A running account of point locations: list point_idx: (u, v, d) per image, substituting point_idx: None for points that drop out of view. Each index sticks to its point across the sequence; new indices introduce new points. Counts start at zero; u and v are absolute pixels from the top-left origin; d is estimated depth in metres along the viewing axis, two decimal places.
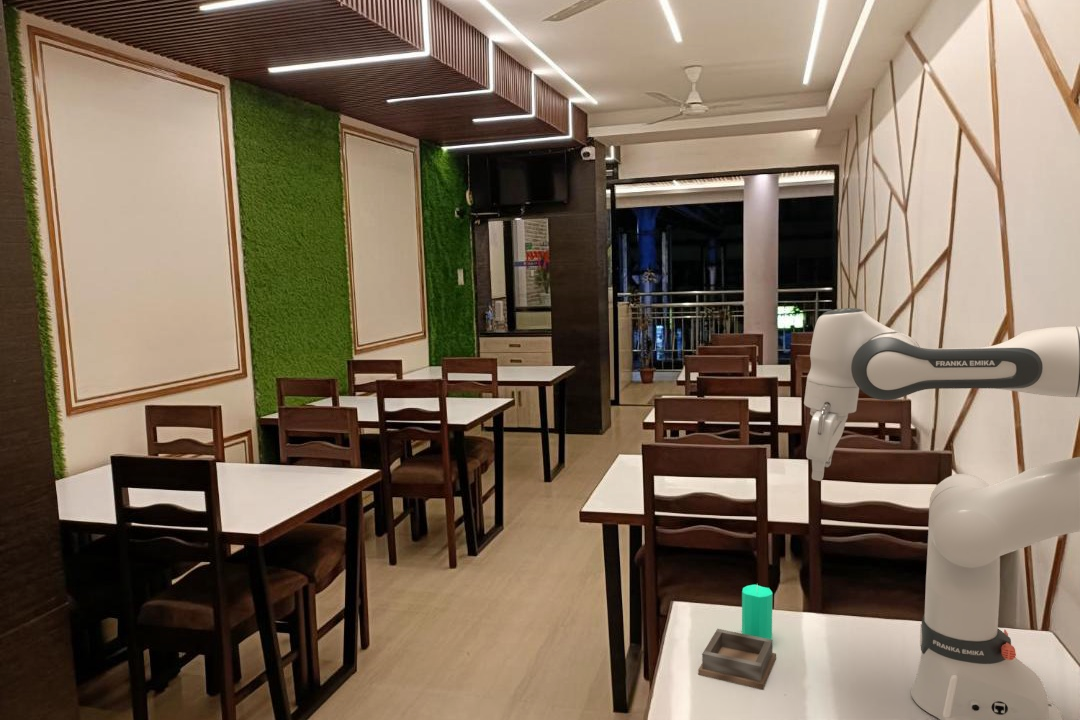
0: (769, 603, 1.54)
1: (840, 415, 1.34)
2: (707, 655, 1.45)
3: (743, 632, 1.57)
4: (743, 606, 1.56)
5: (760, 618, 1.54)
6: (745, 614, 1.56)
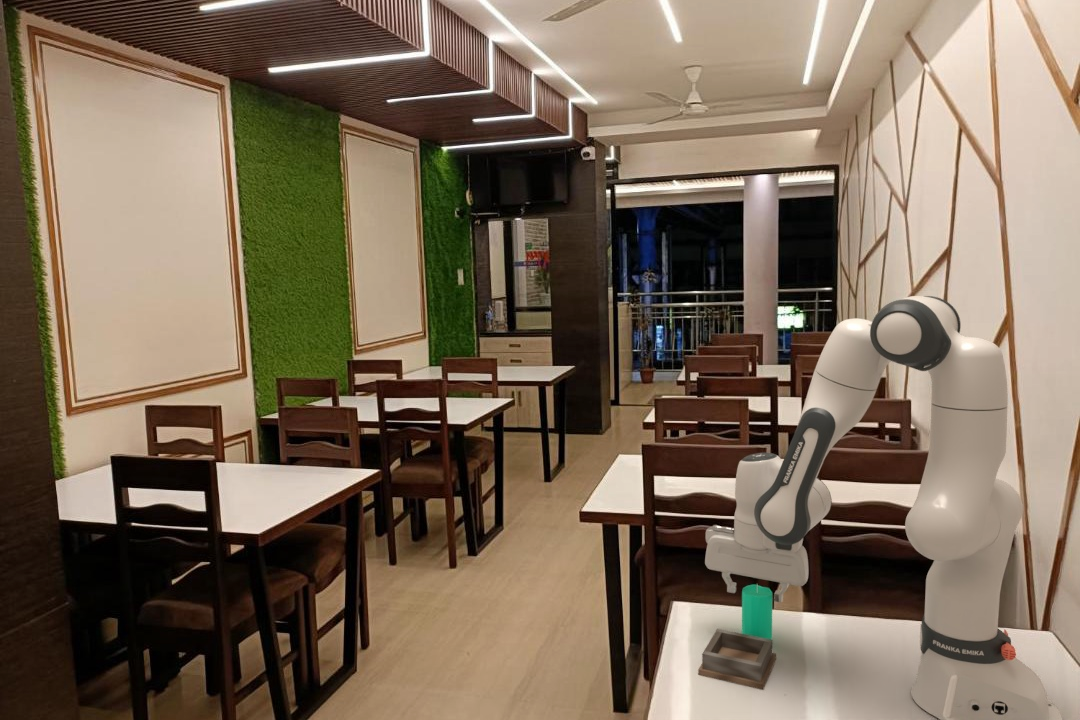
0: (769, 603, 1.54)
1: (742, 544, 1.54)
2: (707, 655, 1.45)
3: (743, 632, 1.57)
4: (743, 606, 1.56)
5: (760, 618, 1.54)
6: (745, 614, 1.56)
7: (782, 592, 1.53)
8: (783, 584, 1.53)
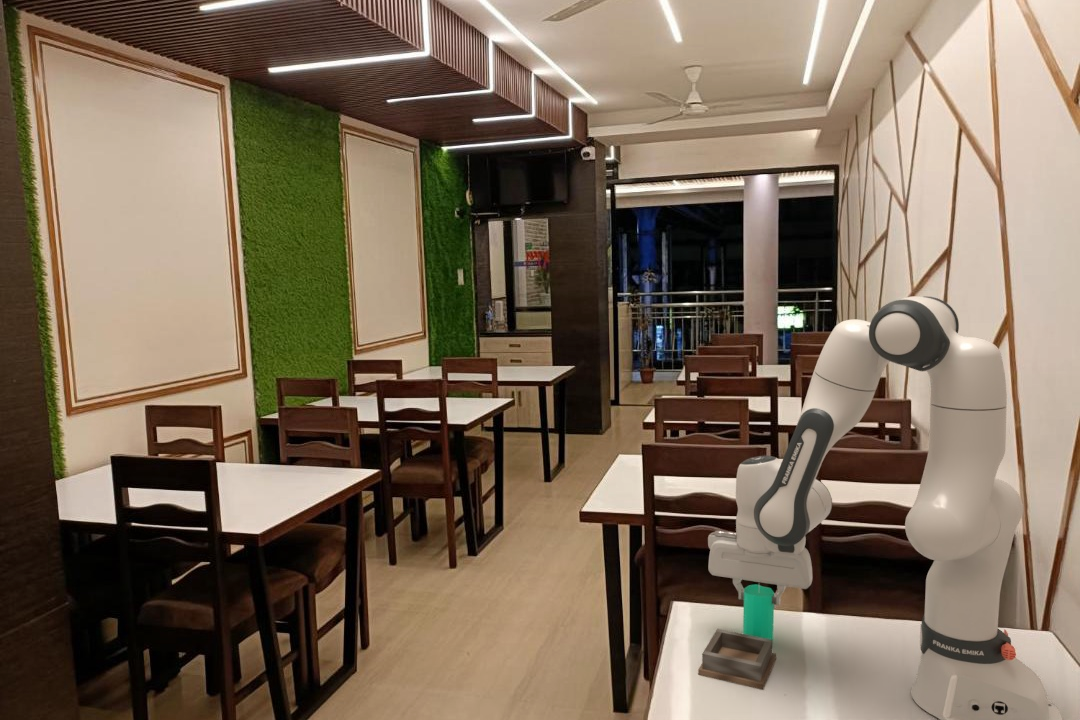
0: (771, 603, 1.54)
1: (745, 548, 1.54)
2: (707, 655, 1.45)
3: (744, 632, 1.57)
4: (745, 606, 1.56)
5: (762, 618, 1.54)
6: (747, 614, 1.55)
7: (779, 594, 1.53)
8: (780, 586, 1.53)
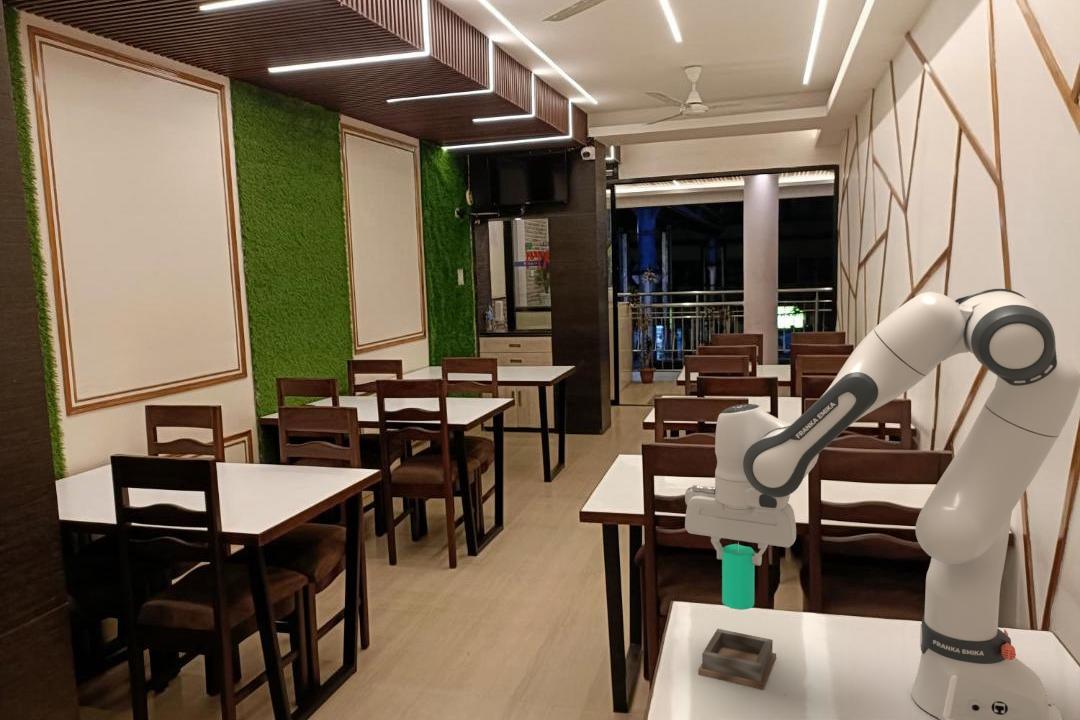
0: (751, 563, 1.43)
1: (724, 504, 1.43)
2: (707, 655, 1.45)
3: (723, 595, 1.46)
4: (723, 567, 1.45)
5: (742, 579, 1.43)
6: (725, 575, 1.44)
7: (760, 554, 1.42)
8: (761, 545, 1.42)
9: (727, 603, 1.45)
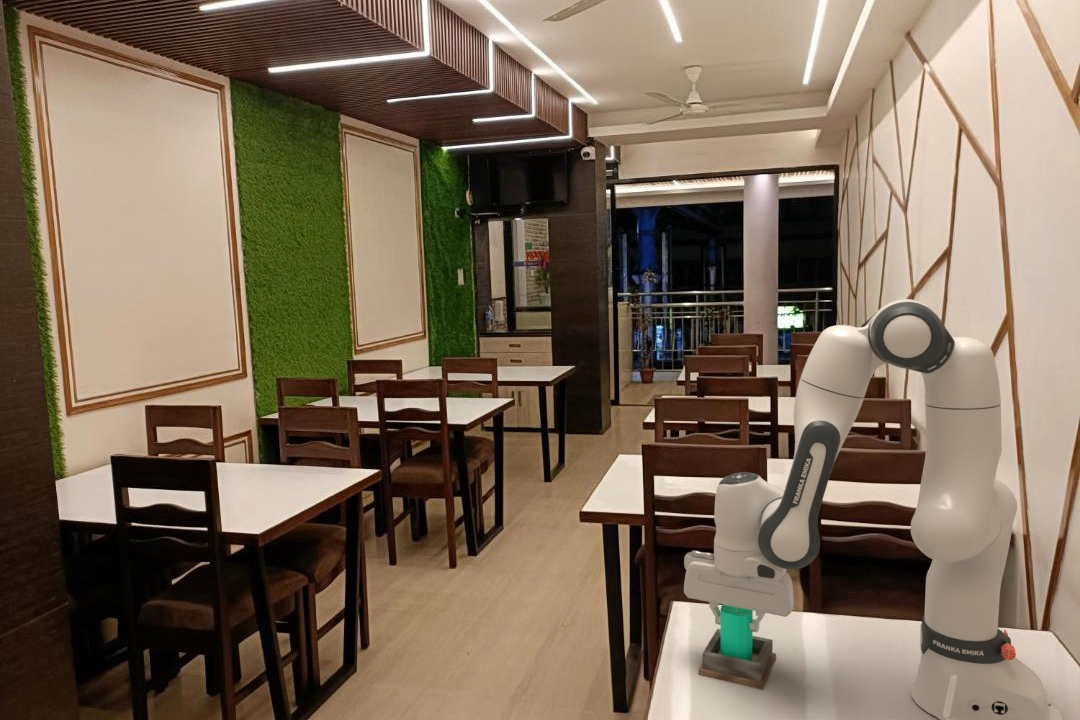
0: (749, 622, 1.45)
1: (723, 571, 1.44)
2: (707, 655, 1.45)
3: (722, 653, 1.47)
4: (722, 625, 1.46)
5: (740, 638, 1.44)
6: (723, 634, 1.46)
7: (758, 621, 1.44)
8: (759, 612, 1.43)
9: None
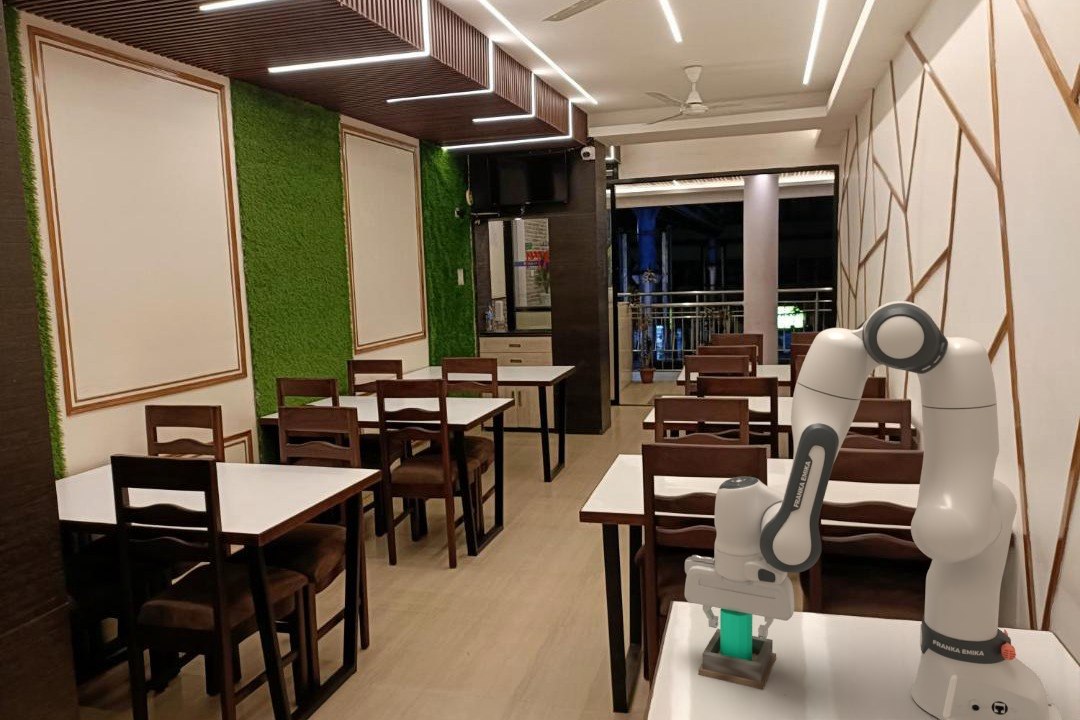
0: (749, 622, 1.45)
1: None
2: (707, 655, 1.45)
3: (722, 653, 1.47)
4: (721, 625, 1.46)
5: (740, 638, 1.44)
6: (723, 634, 1.46)
7: (766, 627, 1.43)
8: (767, 618, 1.43)
9: None
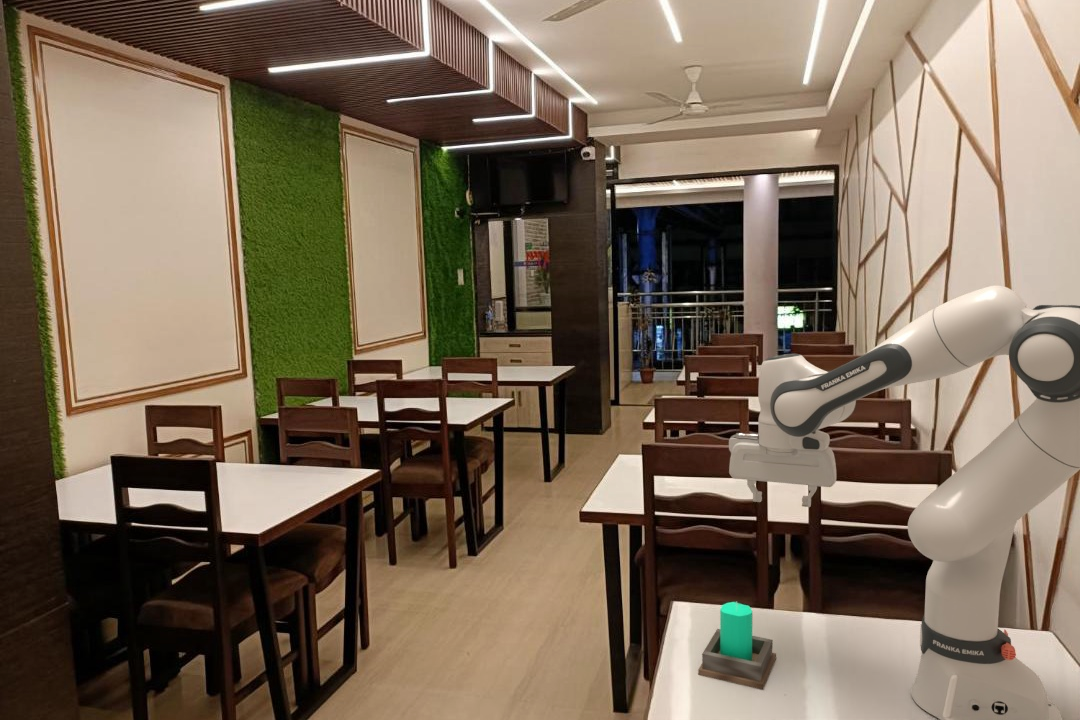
0: (749, 622, 1.45)
1: (768, 448, 1.51)
2: (707, 655, 1.45)
3: (722, 653, 1.47)
4: (721, 625, 1.46)
5: (740, 638, 1.44)
6: (723, 634, 1.46)
7: (810, 495, 1.49)
8: (811, 487, 1.49)
9: None
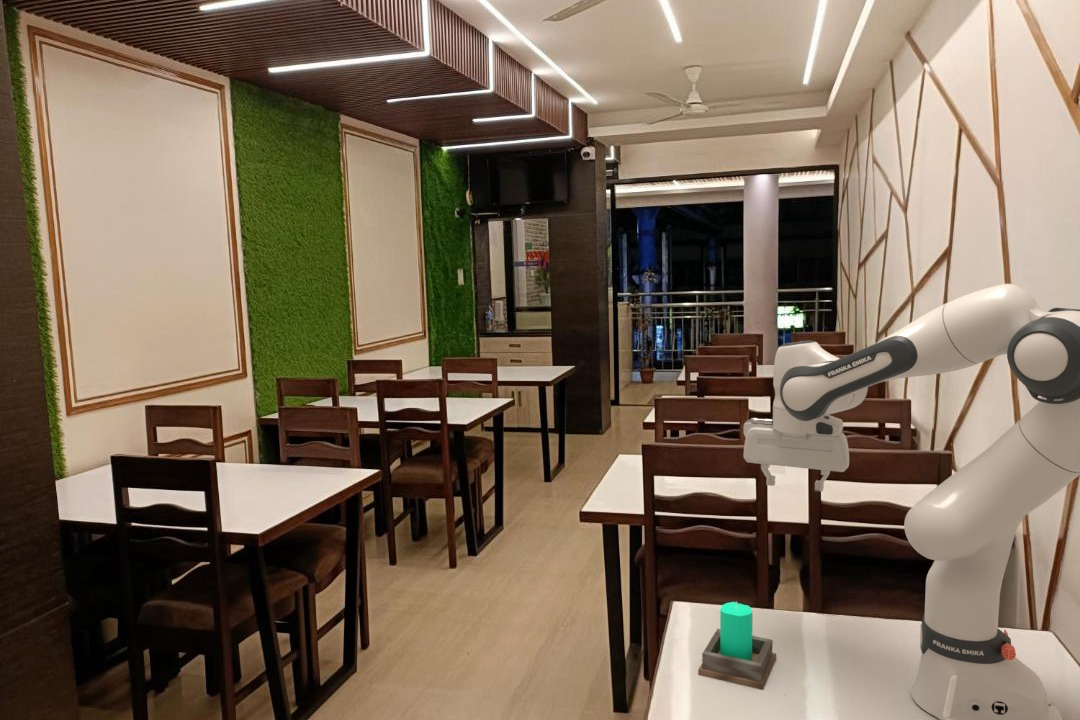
0: (749, 622, 1.45)
1: (782, 433, 1.54)
2: (707, 655, 1.45)
3: (722, 653, 1.47)
4: (721, 625, 1.46)
5: (740, 638, 1.44)
6: (723, 634, 1.46)
7: (823, 480, 1.52)
8: (824, 471, 1.52)
9: None
